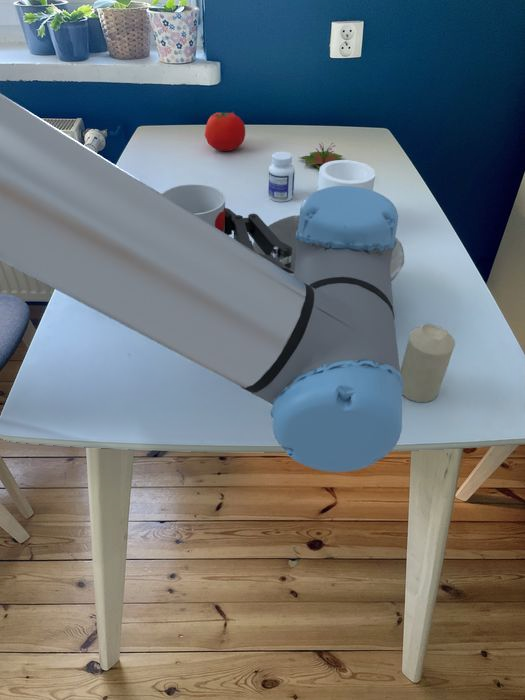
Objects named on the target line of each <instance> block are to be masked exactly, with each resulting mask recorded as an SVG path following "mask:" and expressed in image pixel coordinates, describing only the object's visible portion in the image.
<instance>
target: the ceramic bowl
mask: <svg viewBox="0 0 525 700" xmlns="http://www.w3.org/2000/svg"><path fill="white" fill-rule="evenodd" d="M299 217H300V214H298V215H290V216H287V217H284V218H281V219H279V220H276V221H274V222H272V223H271V224H269V225H267V226H268V228H269V229H270V230H271V231H272V232H273V233H274V234H275V235H276V237H277V238H278V239H279V240H280V241H281V242H283V243H285V244H287V245H289V246H290V247H292V262H291V268H289V269H290V270H291V271H292V272H293V273H294V269H295V259H296V248H297V239H296V232H297V230H298V225H299ZM395 238H396V241H397V244H396V247H394V249H393V253H392V258H391V265H390V274H391V282H392V281H393V280H394V279H395V278H396V277H397V276H398V275H399V273H400V272H401V271H402V268H403V266H404V264H405V252H404V247H403V245H402V242H401V241H400V240H399V239H398V238H397V236H396V237H395ZM252 245H253V248H254V250H255V252H256V253H258V254H263V255H266V254H265V253H264V252H263V251H262V249H261V248H260V247H259V246H258V245H257V243H256V242H255V241H254V240H253V242H252Z"/></svg>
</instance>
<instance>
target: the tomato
mask: <svg viewBox="0 0 525 700" xmlns="http://www.w3.org/2000/svg"><path fill="white" fill-rule="evenodd" d="M204 137H205V140H206V141H207V144H208V145H209V146H210V147H211V148H213V149H214V150H217V151H221V152H224V151H225V152H230V151H234V150H236V149H237V148H239V147H240V146H241V145H242V144H243V142H244V141H245V138H246V126H245V123H244V121H243V120H242V119H241V117H240V116H238V115H236V114H235V111H231V112H215V113H213V114H212V115H210V116H209V118H208V120H207V122H206V125H205V129H204Z"/></svg>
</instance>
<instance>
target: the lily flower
mask: <svg viewBox="0 0 525 700" xmlns="http://www.w3.org/2000/svg"><path fill="white" fill-rule="evenodd" d="M333 144H334V142H332V143H330V145H329V146H328V147H327V148H326V149H325V146H324V144H323V142H321V143H318V145H319V149H320V150H319V149H318V148H317V147H316V148H315V150H316V151H313V152H309V155H303V156H300V157H298V159H301V160H304V161H306V162H305V164H304V167H307V166H311V165H315V167H316V168H317V169H318V170H320V167H321V166H322V165H323V164H325V163H327V162H330V161H335V160H345V159H344V158H342V157H343V155H341V154H338V153H336V152H334V150H333V148H334V147H336V145H333Z"/></svg>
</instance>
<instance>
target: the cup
mask: <svg viewBox="0 0 525 700" xmlns="http://www.w3.org/2000/svg"><path fill="white" fill-rule="evenodd" d="M160 193H161V194H162V195H164V196H166V197H167V198H169V199H170V200H172V201H174V202H175V203H177V204H178V205H180V206H182V207H183V208H185V209H187V210H188V211H190V212H191V213H193V214H195V215H196V216H198V217H199V218H201V219H203V220H204V221H206V222H207V223H209V224H211V225H212V226H214V227H215V228H217V229H219V230H220V231H222V232H223V233H224V227H225V208H226V195H225V194H224V192H222V191H221V190H220V189H219V188H216V187H214V186H211V185H207V184H198V183H197V184H196V183H191V184H189V183H188V184H179V185H177V186H172V187H170V188H168V189H166V190H164V191H163V192H160Z"/></svg>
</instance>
